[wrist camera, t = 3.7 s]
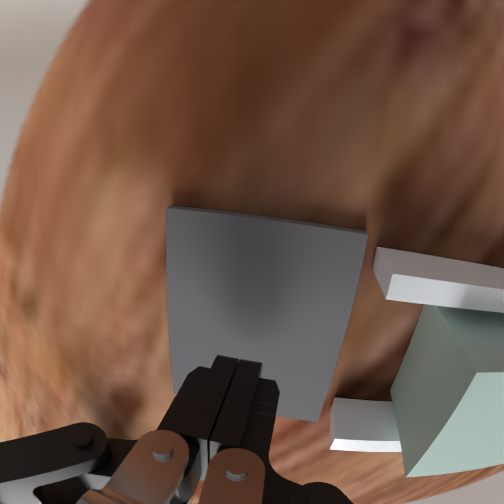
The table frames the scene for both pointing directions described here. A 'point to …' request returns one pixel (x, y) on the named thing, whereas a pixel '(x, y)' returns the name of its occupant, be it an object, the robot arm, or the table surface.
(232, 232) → the pad
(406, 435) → the block
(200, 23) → the table surface
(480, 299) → the white parallel rails
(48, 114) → the table surface
